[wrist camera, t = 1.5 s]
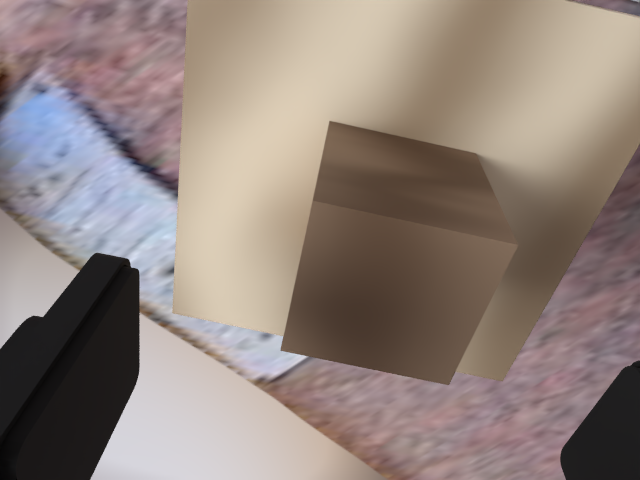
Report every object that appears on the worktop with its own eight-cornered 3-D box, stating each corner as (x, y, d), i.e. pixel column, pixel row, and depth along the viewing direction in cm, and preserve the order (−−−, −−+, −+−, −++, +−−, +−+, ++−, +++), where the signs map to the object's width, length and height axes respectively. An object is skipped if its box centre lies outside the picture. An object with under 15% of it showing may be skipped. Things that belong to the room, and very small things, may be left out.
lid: (668, 21, 14) (871, 88, 8) (492, 348, 21) (538, 507, 15) (211, -86, 14) (97, -93, 8) (186, 284, 21) (116, 423, 15)
